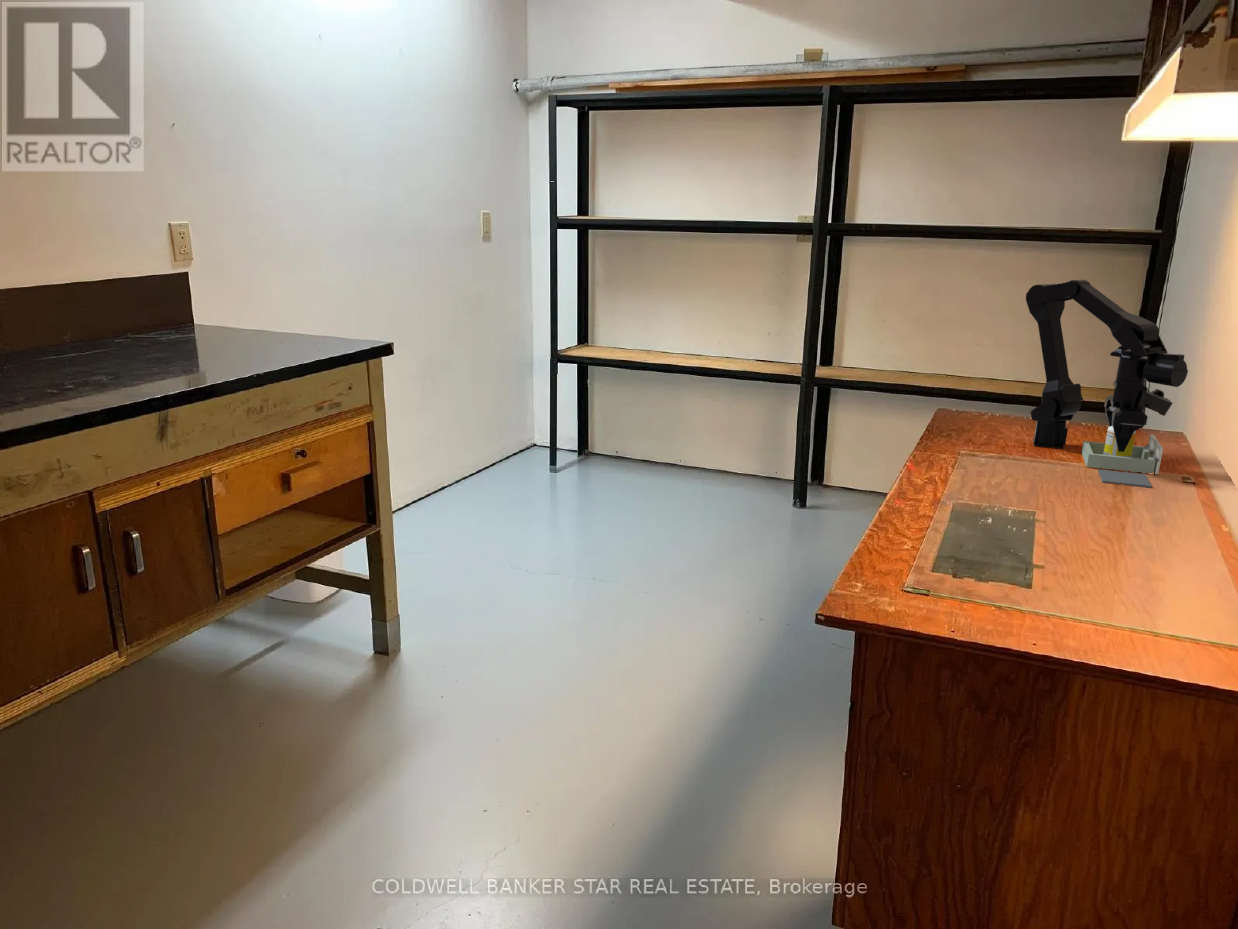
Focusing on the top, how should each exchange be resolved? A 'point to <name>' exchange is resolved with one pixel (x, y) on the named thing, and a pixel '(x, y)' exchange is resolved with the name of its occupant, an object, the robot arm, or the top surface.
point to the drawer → (1138, 462)
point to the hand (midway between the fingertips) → (1118, 446)
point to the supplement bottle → (1112, 445)
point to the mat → (1124, 478)
